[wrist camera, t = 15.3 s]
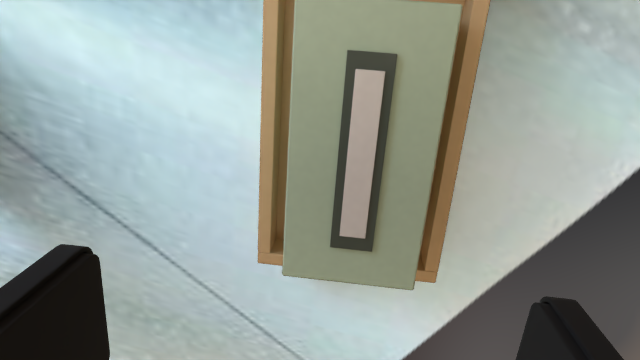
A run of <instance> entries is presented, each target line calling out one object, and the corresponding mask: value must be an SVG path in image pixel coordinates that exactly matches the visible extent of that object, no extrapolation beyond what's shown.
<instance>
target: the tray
mask: <svg viewBox="0 0 640 360" xmlns="http://www.w3.org/2000/svg"><path fill="white" fill-rule="evenodd" d="M410 1H424V2H438V3H452V4H461V5H462V13H461V19H460V25H459V31H458V36H457V42H456V48H455V54H454V59H453V65H452V71H451V77H450V82H449V88H448V94H447V100H446V105H445V111H444V117H443V123H442V128H441V134H440V140H439V146H438V151H437V157H436V163H435V169H434V174H433V180H432V186H431V192H430V197H429V203H428V209H427V215H426V220H425V226H424V232H423V238H422V244H421V249H420V255H419V261H418V267H417V272H416V278H415V281H422V282H431V283H435V282H436V277H437V272H438V268H439V263H440V257H441V252H442V247H443V242H444V237H445V232H446V226H447V221H448V216H449V211H450V206H451V201H452V196H453V190H454V185H455V180H456V175H457V170H458V165H459V159H460V154H461V149H462V144H463V139H464V134H465V129H466V123H467V118H468V113H469V108H470V103H471V98H472V93H473V87H474V82H475V77H476V72H477V67H478V62H479V56H480V51H481V46H482V41H483V36H484V31H485V26H486V20H487V15H488V10H489V5H490V0H410ZM294 8H295V0H264V2H263V46H262V90H261V135H260V179H259V224H258V263H263V264H272V265H281V266H283V247H284V225H285V204H286V182H287V160H288V138H289V117H290V95H291V73H292V51H293V30H294Z"/></svg>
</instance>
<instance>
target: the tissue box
mask: <svg viewBox="0 0 640 360" xmlns="http://www.w3.org/2000/svg"><path fill="white" fill-rule="evenodd" d="M461 13H462V5H461V4H452V3H438V2H424V1H410V0H295V8H294V30H293V51H292V73H291V95H290V117H289V138H288V160H287V182H286V204H285V225H284V247H283V269H282V274H283V275H284V276H292V277H301V278H309V279H318V280H327V281H335V282H344V283H353V284H362V285H370V286H379V287H388V288H396V289H405V290H413V289H414V284H415V278H416V272H417V267H418V261H419V255H420V249H421V244H422V238H423V232H424V226H425V220H426V215H427V209H428V203H429V197H430V192H431V186H432V180H433V174H434V169H435V163H436V157H437V151H438V146H439V140H440V134H441V128H442V123H443V117H444V111H445V105H446V100H447V94H448V88H449V82H450V77H451V71H452V65H453V59H454V54H455V48H456V42H457V36H458V31H459V25H460V19H461Z"/></svg>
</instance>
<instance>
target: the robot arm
mask: <svg viewBox="0 0 640 360" xmlns="http://www.w3.org/2000/svg"><path fill="white" fill-rule="evenodd" d="M109 357H110V349H109V340H108V331H107V322H106V313H105V304H104V295H103V286H102V277H101V268H100V260H99V257H98V256H97V255H95V254H93V252H92V250H91V249H90V248H89V247H84V246H75V245H65V244H61V245H59V246H57V247H55V248H54V249H53V250H51V251H50V252H48V253H47V254H46V255H44V256H43V257H42V258H40V259H39V260H38V261H36V262H35V263H34V264H32V265H31V266H29V267H28V268H27V269H25V270H24V271H23V272H21V273H20V274H19V275H17V276H16V277H15V278H13V279H12V280H11V281H9V282H8V283H6V284H5V285H4V286H2V287H1V288H0V360H109ZM516 360H624V359H623V358H622V357H621V356H620V355H619V353H618V352H617V351H616V350H615V348H614V347H613V346H612V344H611V343H610V342H609V341H608V339H607V338H606V337H605V336H604V334H603V333H602V332H601V331H600V330H599V328H598V327H597V326H596V324H595V323H594V322H593V321H592V319H591V318H590V317H589V316H588V315H587V313H586V312H585V311H584V309H583V308H582V307H581V306H580V305H579V303H578V302H577V301H576V300H572V299H564V298H555V297H543V298H542V299H541V301H540V303H534V304H533V305H532V306H531V309H530V312H529V316H528V319H527V323H526V326H525V330H524V333H523V337H522V340H521V343H520V347H519V351H518V354H517V357H516Z"/></svg>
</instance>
